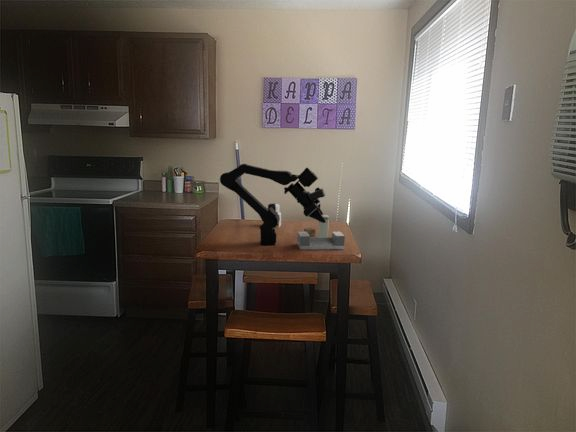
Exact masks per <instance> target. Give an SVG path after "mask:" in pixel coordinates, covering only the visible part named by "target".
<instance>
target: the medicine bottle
mask: <svg viewBox="0 0 576 432" xmlns="http://www.w3.org/2000/svg"><path fill="white" fill-rule="evenodd" d="M271 207H272V208H273V209H274V210H275V211H276V212H278V215H279V217H280V221H279V223H278V224H277V226H275V228H274V229H279V228H280V227H281V226H282V212H281V211H280V207H281V206H280V204H279V203H268V205H267V208H268V209H270V208H271Z"/></svg>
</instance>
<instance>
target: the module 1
mask: <svg viewBox="0 0 576 432" xmlns="http://www.w3.org/2000/svg"><path fill="white" fill-rule="evenodd" d="M297 237H298V243H299V245H300V246H310V235H309V234H308V233H307V232H304V231H297Z"/></svg>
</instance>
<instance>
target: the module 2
mask: <svg viewBox="0 0 576 432" xmlns="http://www.w3.org/2000/svg"><path fill="white" fill-rule="evenodd" d="M331 237H332V242H333V243H334V244H335V245H336V246H337V245H344V246H345V239H346V238H345V235H344V234H343V232H341V231H332V232H331Z"/></svg>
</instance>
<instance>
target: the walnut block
mask: <svg viewBox="0 0 576 432" xmlns="http://www.w3.org/2000/svg"><path fill="white" fill-rule="evenodd" d="M303 232H307V233H308V234H309V235H310V237H316V229H315V228H314V227H313V228H312V227H305V228H303Z"/></svg>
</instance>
